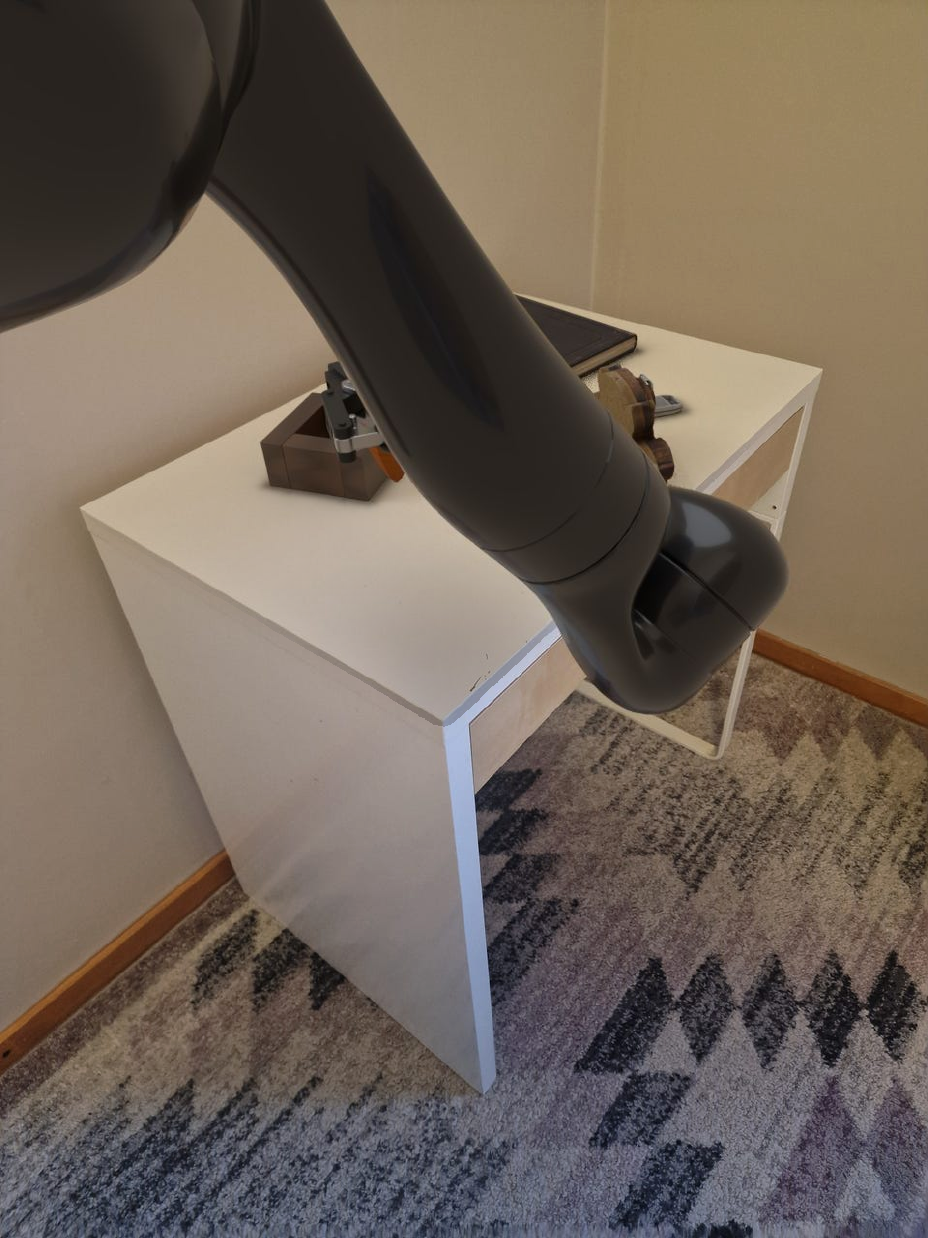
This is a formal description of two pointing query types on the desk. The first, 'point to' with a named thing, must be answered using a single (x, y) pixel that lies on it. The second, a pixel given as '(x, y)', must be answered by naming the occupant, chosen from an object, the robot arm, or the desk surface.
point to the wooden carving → (635, 413)
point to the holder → (316, 457)
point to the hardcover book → (580, 337)
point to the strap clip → (664, 402)
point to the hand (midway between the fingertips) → (367, 365)
